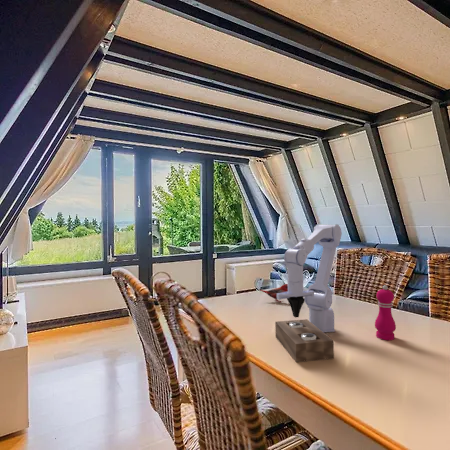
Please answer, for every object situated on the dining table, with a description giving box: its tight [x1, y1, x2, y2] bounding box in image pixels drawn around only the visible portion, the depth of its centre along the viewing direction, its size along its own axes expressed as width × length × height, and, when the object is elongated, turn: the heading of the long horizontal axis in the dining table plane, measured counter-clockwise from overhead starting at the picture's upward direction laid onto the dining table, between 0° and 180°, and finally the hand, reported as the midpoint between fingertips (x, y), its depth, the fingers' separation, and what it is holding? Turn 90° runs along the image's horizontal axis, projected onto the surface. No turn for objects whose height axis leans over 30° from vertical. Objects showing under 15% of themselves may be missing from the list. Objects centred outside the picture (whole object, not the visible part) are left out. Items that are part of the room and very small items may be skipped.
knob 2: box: [301, 333, 316, 341], centre depth 112 cm, size 5×5×6 cm
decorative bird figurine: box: [259, 283, 288, 303], centre depth 177 cm, size 3×18×10 cm, turn 72°
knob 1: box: [289, 322, 303, 328], centre depth 124 cm, size 5×5×6 cm
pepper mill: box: [374, 284, 397, 341], centre depth 125 cm, size 7×7×20 cm
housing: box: [274, 318, 335, 363], centre depth 118 cm, size 13×22×6 cm, turn 8°
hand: (295, 316), depth 124 cm, fingers closed
